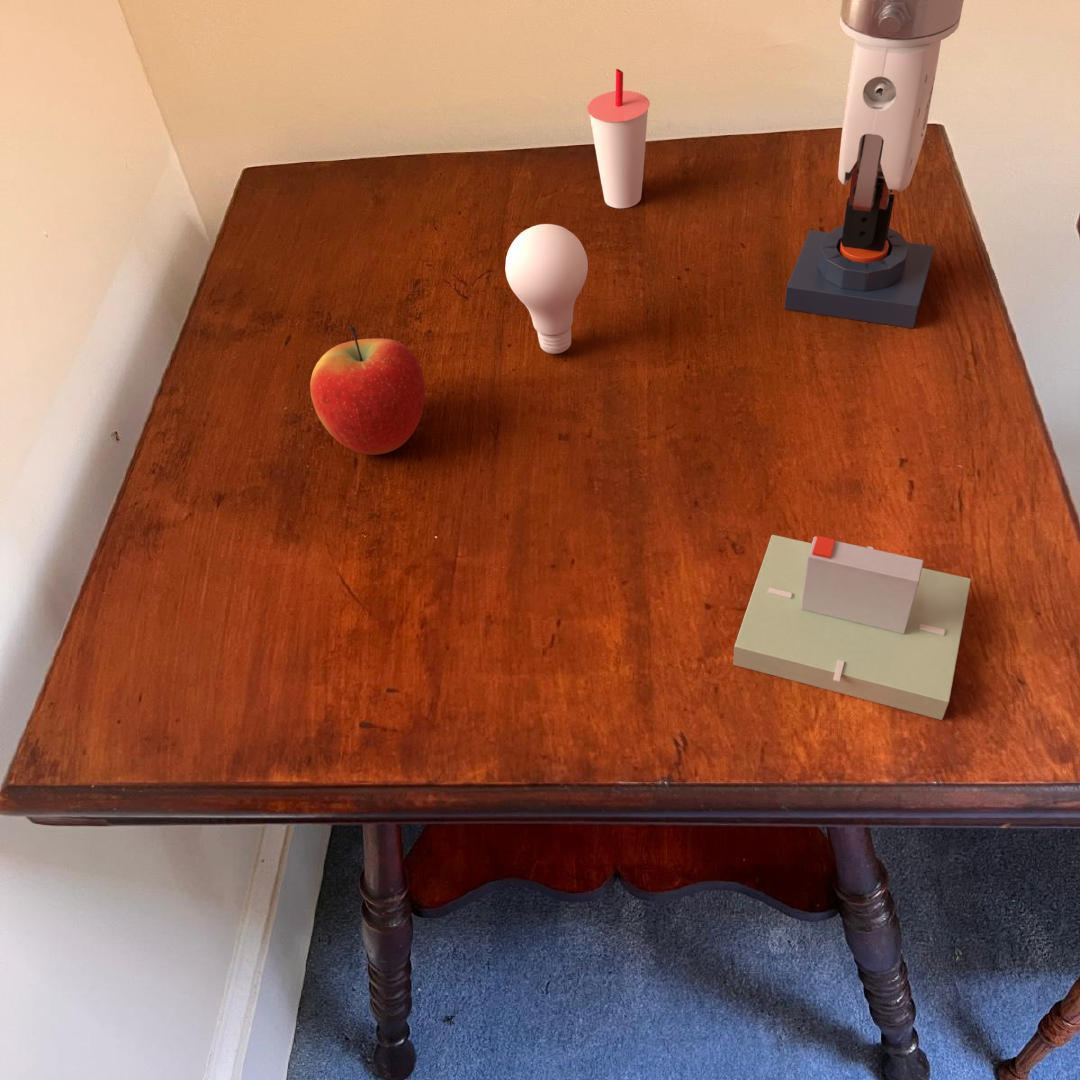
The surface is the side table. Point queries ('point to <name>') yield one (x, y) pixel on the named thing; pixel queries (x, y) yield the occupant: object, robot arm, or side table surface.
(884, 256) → the button
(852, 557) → the tap handle
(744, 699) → the side table surface
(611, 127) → the cup
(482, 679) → the side table surface
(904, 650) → the panel
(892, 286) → the button block
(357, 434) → the apple
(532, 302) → the lightbulb
